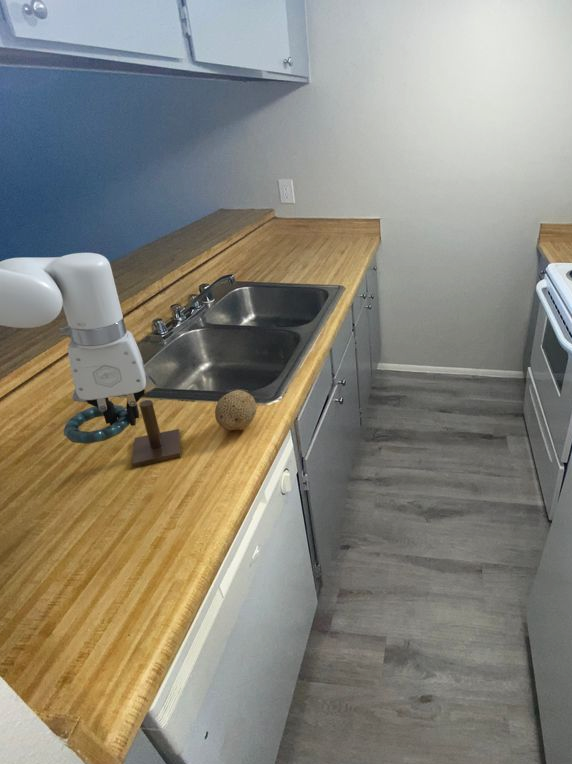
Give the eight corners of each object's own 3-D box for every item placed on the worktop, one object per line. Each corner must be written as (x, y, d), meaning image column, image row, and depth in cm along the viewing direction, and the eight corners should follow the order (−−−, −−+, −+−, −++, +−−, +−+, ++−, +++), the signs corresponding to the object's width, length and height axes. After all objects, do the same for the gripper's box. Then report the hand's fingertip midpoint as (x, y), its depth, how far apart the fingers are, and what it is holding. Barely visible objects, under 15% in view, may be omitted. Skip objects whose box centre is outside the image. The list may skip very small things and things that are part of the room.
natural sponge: (242, 445, 105) (236, 409, 100) (209, 436, 107) (202, 399, 103) (266, 423, 112) (262, 387, 108) (235, 414, 115) (229, 379, 110)
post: (133, 467, 97) (119, 419, 92) (135, 441, 105) (122, 396, 99) (180, 457, 101) (169, 410, 95) (179, 432, 108) (169, 387, 102)
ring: (61, 451, 77) (57, 441, 77) (71, 418, 86) (68, 408, 85) (130, 438, 81) (127, 428, 80) (133, 407, 89) (131, 398, 88)
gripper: (33, 347, 70) (67, 445, 79) (153, 333, 76) (173, 425, 85) (44, 327, 76) (75, 420, 85) (154, 316, 83) (173, 403, 91)
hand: (124, 422), depth 85 cm, fingers closed on ring, 2 cm apart
